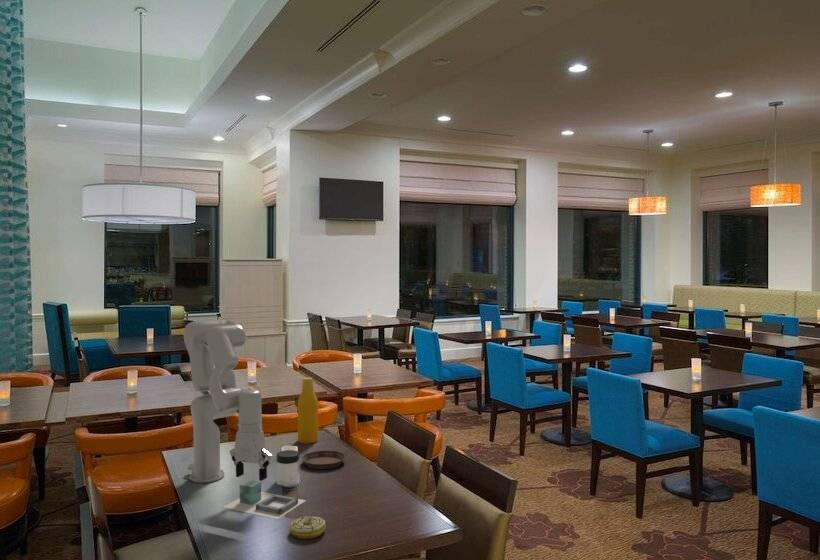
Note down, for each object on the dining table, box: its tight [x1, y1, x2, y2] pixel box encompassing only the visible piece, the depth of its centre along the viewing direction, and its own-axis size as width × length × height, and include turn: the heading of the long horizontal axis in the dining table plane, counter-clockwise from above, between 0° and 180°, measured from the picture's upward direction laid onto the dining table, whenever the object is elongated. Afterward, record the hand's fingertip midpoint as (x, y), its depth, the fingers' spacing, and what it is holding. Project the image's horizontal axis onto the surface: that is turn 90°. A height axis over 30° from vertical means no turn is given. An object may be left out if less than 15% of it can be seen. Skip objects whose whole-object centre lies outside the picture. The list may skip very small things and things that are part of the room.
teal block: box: [239, 479, 262, 505], centre depth 201 cm, size 5×5×6 cm
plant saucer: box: [301, 450, 346, 470], centre depth 243 cm, size 18×18×3 cm
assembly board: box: [222, 491, 307, 520], centre depth 198 cm, size 22×16×3 cm
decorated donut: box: [288, 515, 327, 540], centre depth 181 cm, size 10×11×4 cm
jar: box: [275, 449, 300, 487], centre depth 218 cm, size 9×8×12 cm
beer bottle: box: [297, 377, 319, 444], centre depth 273 cm, size 9×9×29 cm
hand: (251, 477), depth 200 cm, fingers open, 9 cm apart
